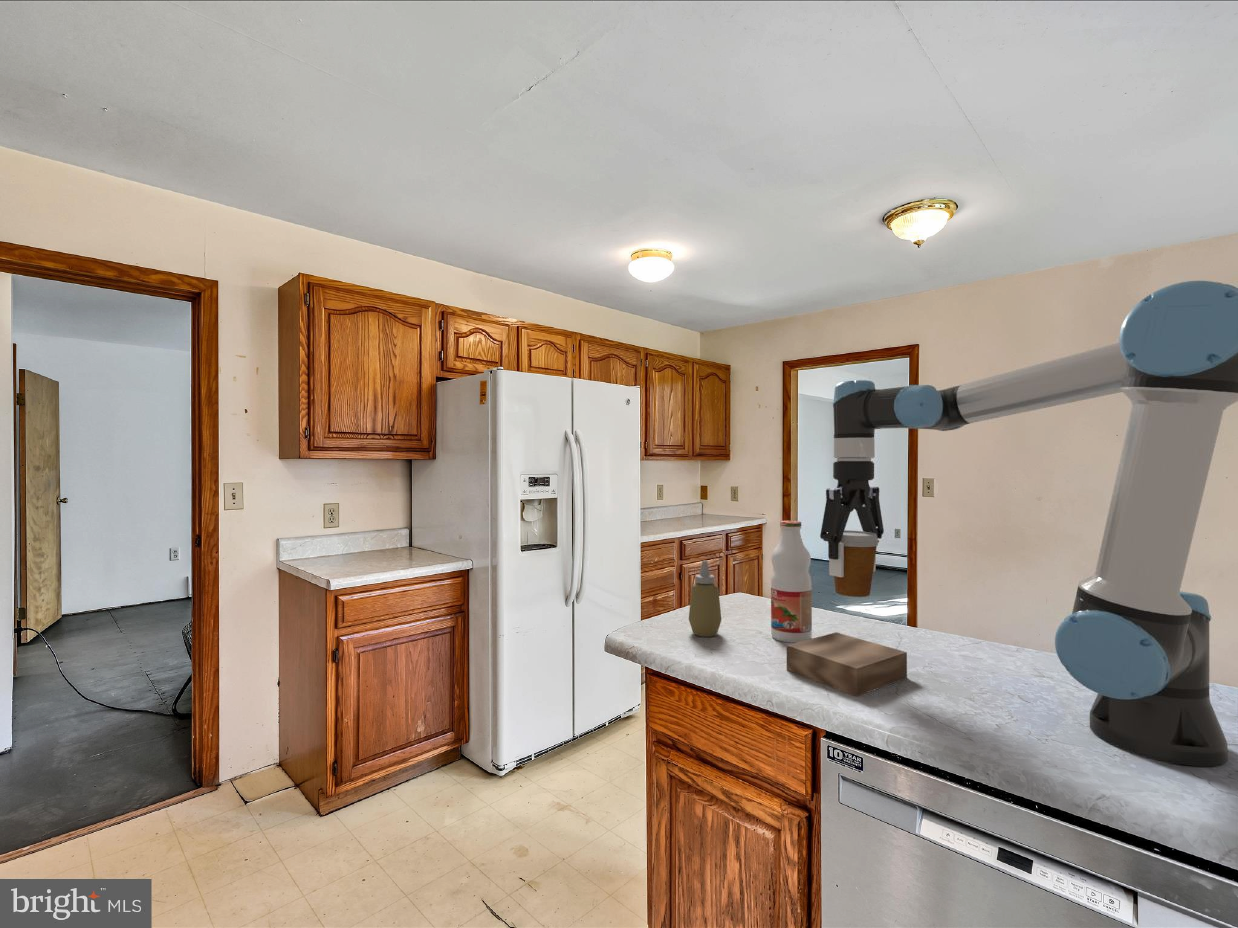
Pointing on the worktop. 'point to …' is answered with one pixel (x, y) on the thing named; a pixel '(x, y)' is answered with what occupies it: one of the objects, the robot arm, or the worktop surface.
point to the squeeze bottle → (704, 604)
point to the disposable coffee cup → (857, 563)
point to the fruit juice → (791, 587)
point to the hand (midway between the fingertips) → (852, 572)
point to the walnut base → (847, 663)
